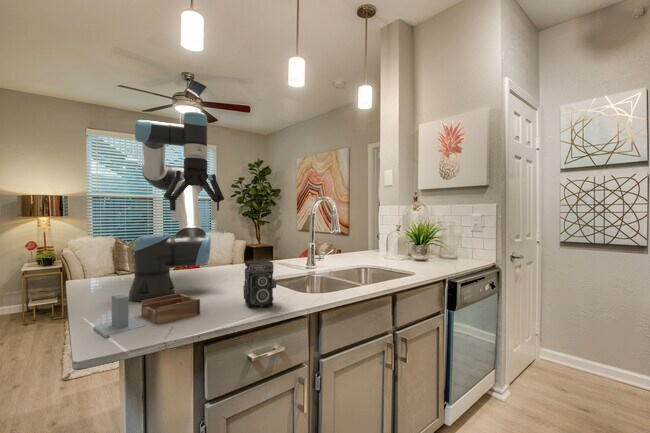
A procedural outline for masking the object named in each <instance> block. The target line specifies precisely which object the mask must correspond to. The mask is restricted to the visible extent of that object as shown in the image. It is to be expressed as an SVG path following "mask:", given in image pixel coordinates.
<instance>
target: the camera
mask: <svg viewBox="0 0 650 433" xmlns="http://www.w3.org/2000/svg"><path fill="white" fill-rule="evenodd" d="M244 265H245V268H244V281H243V282H244V283H243V284H244V285H243V286H242V287H243V289H242V290H243V300H244V303H245V304H246V306H247V308H248V309H255V308H263V307H269V308H270V307H272V306H273V305H274V303H273V302H274V296H273V293H274V292H273V291H274V290H273V289H276V288H277V280H276V278H274V277H273V276H274V275H273V274H274V262H273V261H271V260H266V259H264V260H248V261H247V260H246V261H245V262H244Z"/></svg>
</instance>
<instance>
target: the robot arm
mask: <svg viewBox="0 0 650 433" xmlns="http://www.w3.org/2000/svg"><path fill="white" fill-rule="evenodd" d="M182 122H183V124H179V123H170V122H163V121H162V122H161V121H156V120H155V121H153V120H150V119H149V120H148V119H147V120H145V119H138V120H135V122H134V137H135V140H136V142H139V143H142V153H143V154H142V155H143V165H142V168H141V171H142V177H143V178H144V180H145V181H146V182H147V183H149V185H151V186H152V187H154V188H156V189H158V190H161V191H165V193H164V194H163V198H164V199H166V200H168V201H169V210H170V211H172V221H173V222H178V230H177V232H176V233H175V235H174V236H171V234H170V233H169V232H165V233H155V234H154V233H153V234H150V235H149V234H147V235H143V236H139V237H137V238H136V239H135V240H134V248H133V252H134V262H133V263H134V270H133V271H134V275H133V276H134V278H133V280H132V283H131V286H130V288H129V291H128V301H129V300H130V301H132V302H142V300H147V299H152V298H157V297H163V296H168V295H173V294H176V293H175V292H176V289H175V285H174V282H173V279H172V278H171V272H170V268H177V267H190V266H192V267H193V266H195V267H199V266H203V265H206V264H208V262H209V260H210V253H211V244H212V241H211V240H212V238H211V236H210V235H208V234H207V233H206V231H205V230H204V229H203V228H202V224H201V221H202V220H201V214H200V205H199V195H200V193H201V192H203V190H204V192H206V194H207V195H208V196H209V197H210V199H211V200H212V201H213V202H210V208H211V209H210V216H211V217H210V218H211V219H210V220H211V221H217V220H218V212H219V211H220V202H222V201H224V200H225V197H224V195H223V192H222V190H221V188H220V186H219V183H218V180H217V174H215V173H213V174H212V173H211V174H208V160H207V159H208V125H209V123H208V116H207V115H206V114H205V113H204V112H200V111H196V110H195V111H193V110H191V111H185V113H184V114H183V120H182ZM166 145H168V146H170V145H171V146H181V147H183V157H184V158H183V166H182V165H181V166H180V165H167V164H166V162H165V160H166ZM207 180H208V181H209V182H208V181H207ZM209 183H210V184H211V186H210V184H209Z"/></svg>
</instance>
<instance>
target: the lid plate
mask: <svg viewBox="0 0 650 433" xmlns="http://www.w3.org/2000/svg"><path fill="white" fill-rule="evenodd" d="M146 326H147V324H145V323H143V322H141V321H140V320H138V319H135V318H134V317H129V295H128V296H127V295H126V294H123V293H119V294H114V295H113V294H112V295H111V322H108V323H104V324H100V325H95V326H93V330H94V331H95V332H96V333H97V334H99V335H100V336H102V337H103V338H105V339H109V338H111V335H116V334H119V333H124V332H127V331H132V330H135V329H140V328H143V327H146Z"/></svg>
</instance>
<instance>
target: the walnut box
mask: <svg viewBox="0 0 650 433" xmlns="http://www.w3.org/2000/svg"><path fill="white" fill-rule="evenodd" d="M200 314H201V299H200V298H196V297H192V296H190V295H187V294H183V293H182V292H180V293H175V294H173V295H168V296H163V297H157V298H152V299H147V300H142V301H141V316H142V317H144V318H146V319H148V320H150V321H151V322H154V324H157V325H161V324H166V323H169V322H174V321H177V320H181V319H184V318H185V319H186V318H189V317H194V316H197V315H200Z"/></svg>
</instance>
